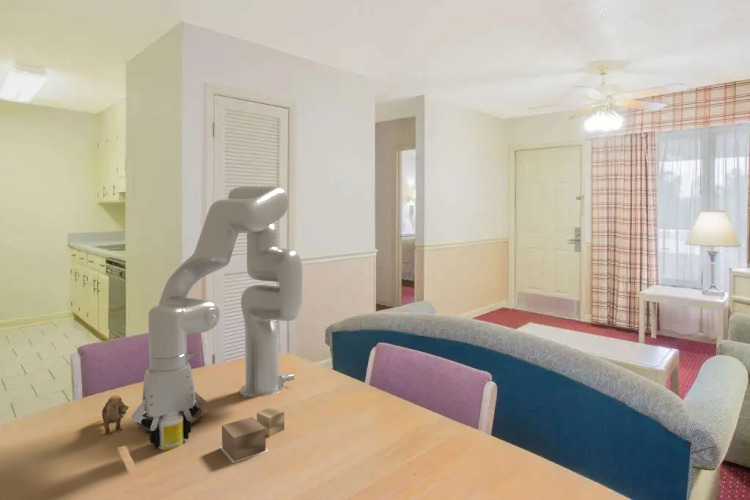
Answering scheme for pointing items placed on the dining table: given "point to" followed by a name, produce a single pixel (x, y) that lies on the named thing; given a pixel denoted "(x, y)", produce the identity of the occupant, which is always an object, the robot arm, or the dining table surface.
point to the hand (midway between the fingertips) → (170, 440)
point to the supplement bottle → (171, 431)
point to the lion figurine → (113, 413)
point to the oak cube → (271, 420)
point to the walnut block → (243, 438)
